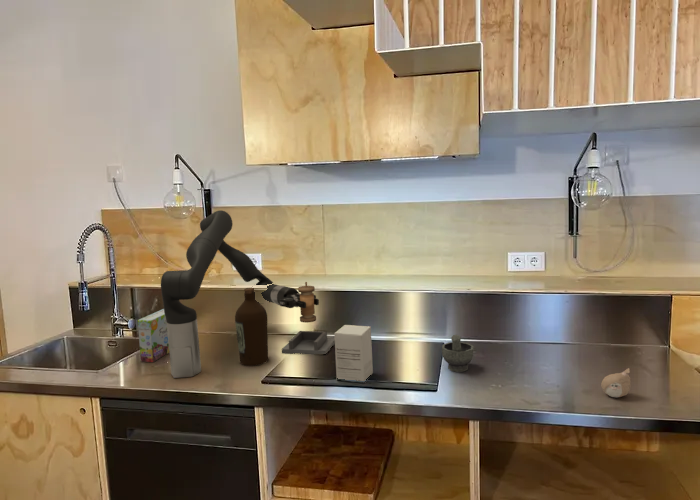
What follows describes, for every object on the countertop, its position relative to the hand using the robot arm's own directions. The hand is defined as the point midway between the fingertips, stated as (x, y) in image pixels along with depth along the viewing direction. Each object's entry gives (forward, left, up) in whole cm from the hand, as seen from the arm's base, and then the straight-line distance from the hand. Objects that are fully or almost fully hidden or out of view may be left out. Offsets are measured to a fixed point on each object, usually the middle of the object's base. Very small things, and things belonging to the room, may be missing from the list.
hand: (311, 303), depth 180 cm
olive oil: (-8, +21, -17) cm, 28 cm away
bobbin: (+2, +2, -6) cm, 7 cm away
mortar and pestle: (-29, -43, -17) cm, 55 cm away
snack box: (+9, +54, -17) cm, 57 cm away
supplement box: (-29, -11, -17) cm, 35 cm away
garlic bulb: (-56, -77, -17) cm, 97 cm away
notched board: (+2, +2, -17) cm, 17 cm away
